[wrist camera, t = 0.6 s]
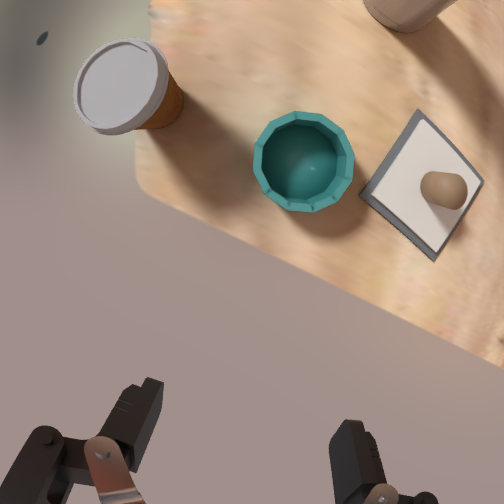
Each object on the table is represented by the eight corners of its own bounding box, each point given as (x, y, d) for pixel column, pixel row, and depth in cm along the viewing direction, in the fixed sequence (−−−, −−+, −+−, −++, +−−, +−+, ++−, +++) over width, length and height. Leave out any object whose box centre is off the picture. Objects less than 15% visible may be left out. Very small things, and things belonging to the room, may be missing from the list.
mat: (416, 109, 30) (418, 109, 30) (482, 180, 32) (484, 180, 31) (358, 195, 34) (359, 196, 33) (431, 259, 36) (433, 261, 35)
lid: (420, 119, 30) (444, 114, 25) (477, 181, 32) (503, 185, 26) (370, 194, 33) (389, 200, 28) (433, 251, 35) (455, 264, 29)
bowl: (287, 103, 31) (290, 93, 27) (358, 153, 33) (371, 152, 28) (238, 172, 34) (233, 174, 29) (309, 221, 35) (316, 230, 30)
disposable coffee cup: (209, 118, 32) (180, 96, 21) (140, 155, 34) (87, 154, 22) (179, 55, 30) (142, 15, 19) (114, 93, 32) (59, 73, 20)
